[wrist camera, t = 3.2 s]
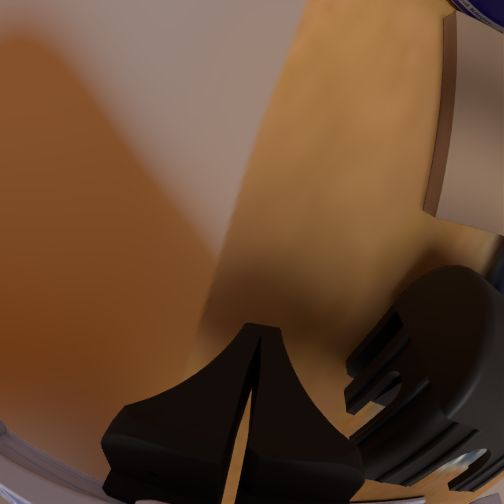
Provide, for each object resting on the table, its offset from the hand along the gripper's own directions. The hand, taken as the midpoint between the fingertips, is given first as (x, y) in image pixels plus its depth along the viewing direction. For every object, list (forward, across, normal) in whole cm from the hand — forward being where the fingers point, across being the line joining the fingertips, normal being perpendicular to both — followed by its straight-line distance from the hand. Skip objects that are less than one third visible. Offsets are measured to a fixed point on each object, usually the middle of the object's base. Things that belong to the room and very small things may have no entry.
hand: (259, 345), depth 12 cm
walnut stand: (+1, -9, -10) cm, 14 cm away
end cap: (+2, -9, 0) cm, 9 cm away
